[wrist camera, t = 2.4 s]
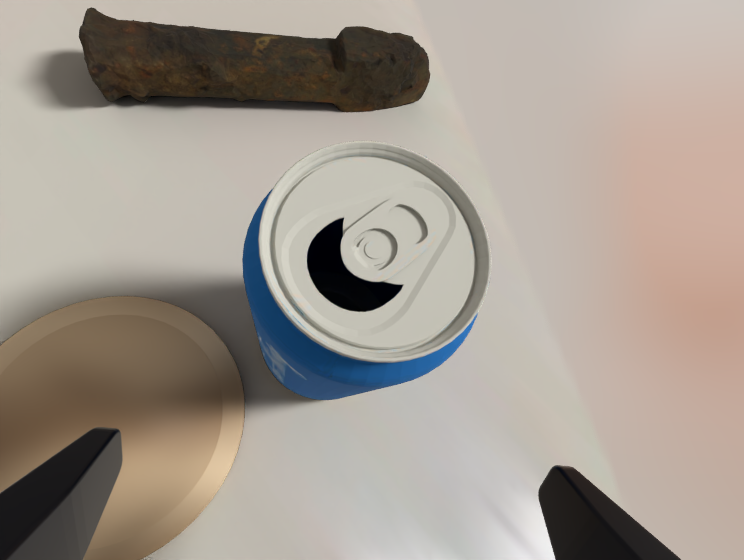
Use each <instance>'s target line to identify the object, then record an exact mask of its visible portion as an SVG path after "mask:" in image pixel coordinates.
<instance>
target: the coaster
mask: <svg viewBox="0 0 744 560" xmlns="http://www.w3.org/2000/svg"><path fill="white" fill-rule="evenodd" d="M244 418H245V399H244V392H243V385H242V381H241V377H240V374H239V370H238V368H237V366H236V364H235V361H234V359H233V357H232V355H231V354H230V352H229V350H228V349H227V347H226V346H225V344H224V343H223V342H222V340H221V339H220V338H219V337H218V336H217V334H216V333H215V332H214V331H213V330H212V329H211V328H210V327H209V326H207V325H206V324H205V323H204V322H203V321H202V320H200V319H199V318H197V317H196V316H194V315H193V314H191V313H190V312H187V311H185V310H183V309H181V308H179V307H177V306H175V305H172V304H169V303H166V302H163V301H159V300H154V299H150V298H145V297H132V296H116V297H104V298H97V299H91V300H87V301H83V302H79V303H75V304H72V305H69V306H66V307H64V308H61V309H58V310H56V311H54V312H51V313H49V314H47V315H45V316H43V317H41V318H39V319H37V320H36V321H34V322H32V323H31V324H29V325H27V326H26V327H24V328H23V329H21V330H20V331H18V332H17V333H16V334H14V335H13V336H12V337H10V338H9V339H8V340H6V341H5V342H4V343H3V344H2V345H1V346H0V492H2V491H3V490H5V489H6V488H8V487H9V486H10V485H12V484H13V483H15V482H16V481H18V480H19V479H21V478H22V477H23V476H25V475H26V474H28V473H29V472H31V471H32V470H33V469H35V468H36V467H38V466H39V465H41V464H42V463H43V462H45V461H46V460H48V459H49V458H51V457H52V456H53V455H55V454H56V453H58V452H59V451H61V450H62V449H63V448H65V447H66V446H68V445H69V444H71V443H72V442H73V441H75V440H76V439H78V438H79V437H81V436H82V435H83V434H85V433H86V432H88V431H89V430H91V429H93V428H96V427H106V428H116V429H119V430H120V432H121V439H122V455H123V461H122V467H121V470H120V473H119V475H118V478H117V480H116V482H115V485H114V487H113V490H112V492H111V494H110V497H109V499H108V502H107V504H106V506H105V509H104V511H103V513H102V516H101V518H100V521H99V523H98V525H97V528H96V530H95V533H94V535H93V537H92V540H91V542H90V545H89V547H88V549H87V552H86V554H85V556H84V558H83V560H140V559H142V558H144V557H146V556H148V555H149V554H151V553H153V552H154V551H156V550H158V549H159V548H161V547H163V546H164V545H165V544H167V543H168V542H169V541H171V540H172V539H173V538H175V537H176V536H177V535H179V534H180V533H181V532H182V531H183V530H184V529H185V528H186V527H187V526H189V525H190V524H191V523H192V522H193V521H194V520H195V519H196V518H197V517H198V516H199V514H200V513H201V512H202V511H203V510H204V509H205V507H206V506H207V505H208V504H209V503H210V501H211V500H212V499H213V497H214V496H215V494H216V493H217V491H218V490H219V488H220V487H221V485H222V484H223V482H224V480H225V478H226V477H227V475H228V473H229V471H230V469H231V467H232V465H233V462H234V459H235V457H236V454H237V452H238V449H239V445H240V441H241V437H242V433H243V426H244Z"/></svg>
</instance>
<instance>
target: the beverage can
mask: <svg viewBox="0 0 744 560" xmlns="http://www.w3.org/2000/svg"><path fill="white" fill-rule="evenodd" d="M490 275H491V249H490V242H489V238H488V234H487V230H486V227H485V224H484V222H483V219H482V217H481V215H480V213H479V211H478V209H477V207H476V205H475V204H474V202H473V201H472V199H471V198H470V196H469V195H468V193H467V192H466V191H465V190H464V188H463V187H462V186H461V185H460V184H459V182H458V181H456V180H455V179H454V178H453V177H452V176H451V175H450V174H449V173H448V172H447V171H445V170H444V169H443V168H442V167H440V166H439V165H438V164H436V163H435V162H433V161H431V160H430V159H428V158H427V157H425V156H423V155H421V154H418V153H416V152H414V151H412V150H409V149H406V148H404V147H401V146H397V145H393V144H389V143H383V142H376V141H352V142H344V143H339V144H334V145H331V146H328V147H325V148H322V149H319V150H317V151H315V152H313V153H311V154H309V155H307V156H306V157H304V158H303V159H301V160H300V161H298V162H297V163H295V164H294V165H293V166H292V167H291V168H290V169H289V170H288V171H287V172H286V173H285V174H284V175H283V176H282V177H281V178H280V180H279V181H278V182H277V183H276V185H275V187H274V188H273V189H272V190H271V191H270V192H269V193H268V195H267V196H266V197H265V198H264V199H263V201H262V202H261V204H260V206H259V207H258V209H257V211H256V212H255V214H254V216H253V218H252V221H251V223H250V226H249V228H248V231H247V235H246V239H245V243H244V250H243V278H244V283H245V288H246V293H247V297H248V301H249V304H250V308H251V312H252V316H253V320H254V324H255V328H256V331H257V335H258V339H259V343H260V347H261V351H262V354H263V357H264V360H265V362H266V364H267V366H268V368H269V369H270V371H271V372H272V374H273V375H274V376H275V377H276V379H277V380H278V381H279V382H280V383H281V384H283V385H284V386H285V387H286V388H288V389H289V390H291V391H293V392H294V393H296V394H299V395H301V396H304V397H307V398H311V399H317V400H332V399H339V398H343V397H347V396H351V395H356V394H360V393H364V392H368V391H372V390H376V389H381V388H385V387H389V386H393V385H397V384H401V383H404V382H407V381H411V380H414V379H416V378H418V377H420V376H423V375H425V374H427V373H429V372H430V371H432V370H433V369H435V368H436V367H438V366H440V365H441V364H442V363H443V362H444V361H446V360H447V359H448V358H449V357H450V356H451V355H452V354H453V353H454V352H455V351H456V350H457V348H458V347H459V346H460V345H461V344H462V343H463V341H464V339H465V338H466V336H467V335H468V333H469V332H470V330H471V328H472V326H473V323H474V321H475V319H476V317H477V314H478V311H479V310H480V308H481V305H482V303H483V301H484V299H485V296H486V293H487V289H488V286H489V282H490Z"/></svg>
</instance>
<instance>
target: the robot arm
mask: <svg viewBox="0 0 744 560" xmlns="http://www.w3.org/2000/svg"><path fill="white" fill-rule="evenodd" d="M122 461H123V455H122V439H121V432H120V430H119V429H116V428H106V427H96V428H93V429H91V430H89V431H88V432H86V433H85V434H83V435H82V436H81V437H79V438H78V439H76V440H75V441H73V442H72V443H71V444H69V445H68V446H66V447H65V448H63V449H62V450H61V451H59V452H58V453H56V454H55V455H53V456H52V457H51V458H49V459H48V460H46V461H45V462H43V463H42V464H41V465H39V466H38V467H36V468H35V469H33V470H32V471H31V472H29V473H28V474H26V475H25V476H23V477H22V478H21V479H19V480H18V481H16V482H15V483H13V484H12V485H10V486H9V487H8V488H6V489H5V490H3V491H2V492H0V560H83V558H84V556H85V554H86V552H87V549H88V547H89V545H90V542H91V540H92V537H93V535H94V533H95V530H96V528H97V525H98V523H99V521H100V518H101V516H102V513H103V511H104V509H105V506H106V504H107V502H108V499H109V497H110V494H111V492H112V490H113V487H114V485H115V482H116V480H117V478H118V475H119V473H120V470H121V467H122ZM538 496H539V502H540V505H541V509H542V513H543V516H544V520H545V523H546V527H547V530H548V534H549V538H550V541H551V545H552V548H553V552H554V555H555V559H556V560H681V559H680V558H679V557H678V556H676V555H675V554H674V553H673V552H671V550H669V549H668V548H667V547H666V546H665V545H664V544H662V543H661V542H660V541H659V540H658V539H656V538H655V537H654V536H653V535H652V534H651V533H649V532H648V531H647V530H646V529H645V528H644V527H642V526H641V525H640V524H639V523H638V522H637V521H635V520H634V519H633V518H632V517H631V516H630V515H628V514H627V513H626V512H625V511H624V510H623V509H621V508H620V507H619V506H618V505H617V504H616V503H614V502H613V501H612V500H611V499H610V498H609V497H607V496H606V495H605V494H604V493H603V492H602V491H600V490H599V489H598V488H597V487H596V486H595V485H593V484H592V483H591V482H590V481H589V480H588V479H586V478H585V477H584V476H583V475H582V474H581V473H579V472H578V471H577V470H576V469H574V468H573V467H570V466H560V465H556V466H554V467H552V468H551V470H550V471H549V473H548V475H547V476H546V478H545V480H544V481H543V483H542V484H541V486H540V488H539V494H538Z"/></svg>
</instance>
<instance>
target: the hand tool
mask: <svg viewBox="0 0 744 560" xmlns="http://www.w3.org/2000/svg"><path fill="white" fill-rule="evenodd" d="M79 38H80V41H81V44H82V47H83V51H84V55H85V61H86V63H87V66H88V70H89V73H90V75H91V77H92V79H93V81H94V83H95V84H96V85H97V86H98V88H99V89H100V91H101V92H102V93H103V95H104V96H105V98H106V99H107V100H108V101H110V102H114V101H116V100H117V99H118V98H120V97H122V96H126V95H131V96H132V97H133V98H134V99H137V100H139V101H141V102H143V103H144V102H146V101H147V100H148V98H149V97H150V96H157V95H158V96H178V97H219V98H234V99H236V100H239V101H241V102H242V101H245V100H247V99H257V100H267V101H274V100H283V101H303V102H327V103H332V104H335V105H336V107H337V108H338V109H339V110H341V111H342V112H363V111H373V110H380V109H385V108H391V107H396V106H400V105H404V104H408V103H411V102H415V101H418V100H419V99H420V98H421V97H422V95H423V94H424V92H425V90H426V88H427V85H428V83H429V79H430V72H429V60H428V56H427V53H426V52H425V50H424V49H423V48H422V47H420V45H419V44H418V43H416V42H415V41H414V40H413V37H412V36H408V35H404V34H401V33H391V34H390V33H387V32H384V31H380V30H375V29H372V28H368V27H358V26H356V27H345V28H344V29H343V30H342V31H341V32H340V33H339V35H338V36H337V38H336V39H332V38H322V39H318V38H302V37H297V36H283V35H273V34H262V33H250V32H239V31H230V30H216V29H206V28H200V27H193V26H189V27H186V26H176V25H165V24H157V23H152V22H140V21H134V20H133V21H128V20H116V19H115V18H111V17H108V16H105V15H103V14H102V13H100V12H98V11H97V10H96V9H94V8H92V7H91V8H89V9H87V11H86V13H85V16H84V21H83V24H82V26H81V27H80V30H79Z"/></svg>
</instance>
